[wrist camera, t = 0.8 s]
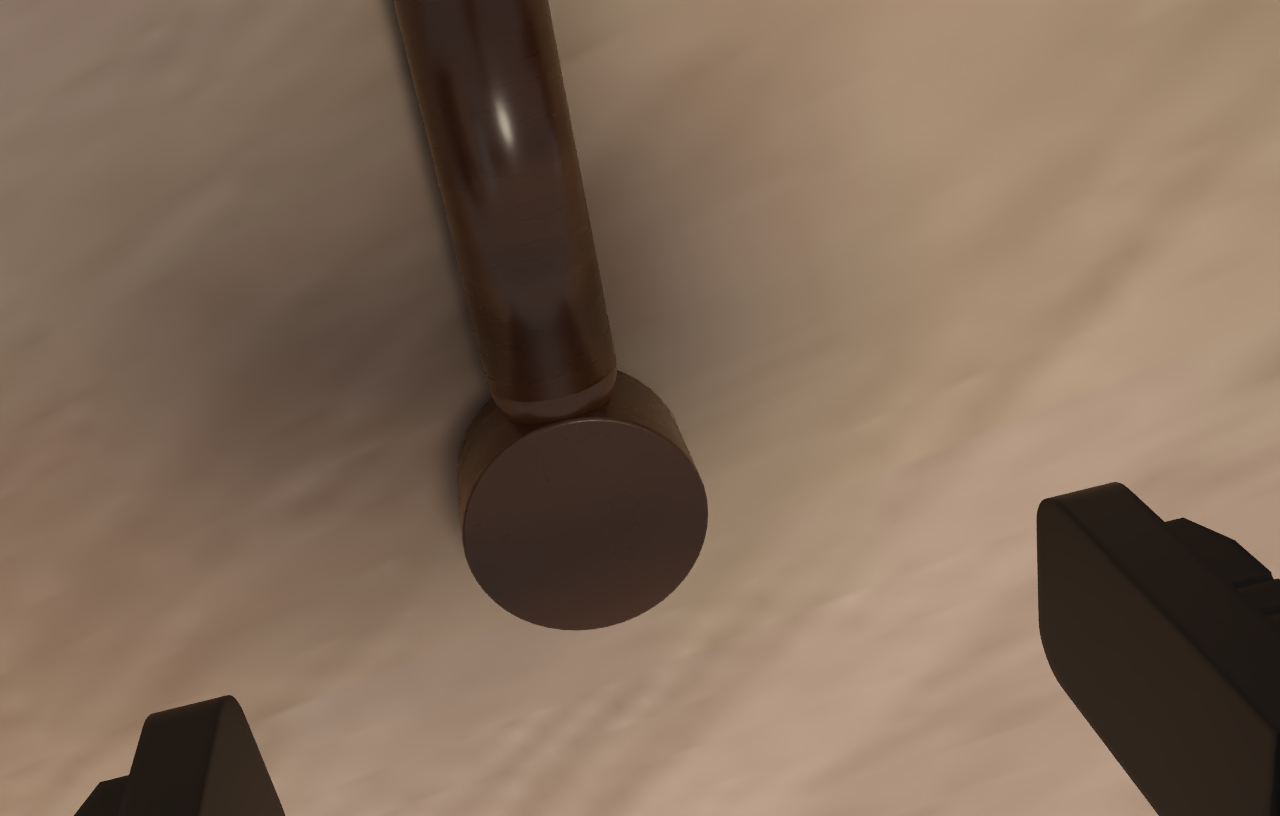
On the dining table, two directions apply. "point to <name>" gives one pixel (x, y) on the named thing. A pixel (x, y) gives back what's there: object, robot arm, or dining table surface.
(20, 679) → the dining table surface
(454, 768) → the dining table surface
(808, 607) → the dining table surface
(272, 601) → the dining table surface
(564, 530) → the rod with round cap
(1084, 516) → the robot arm
